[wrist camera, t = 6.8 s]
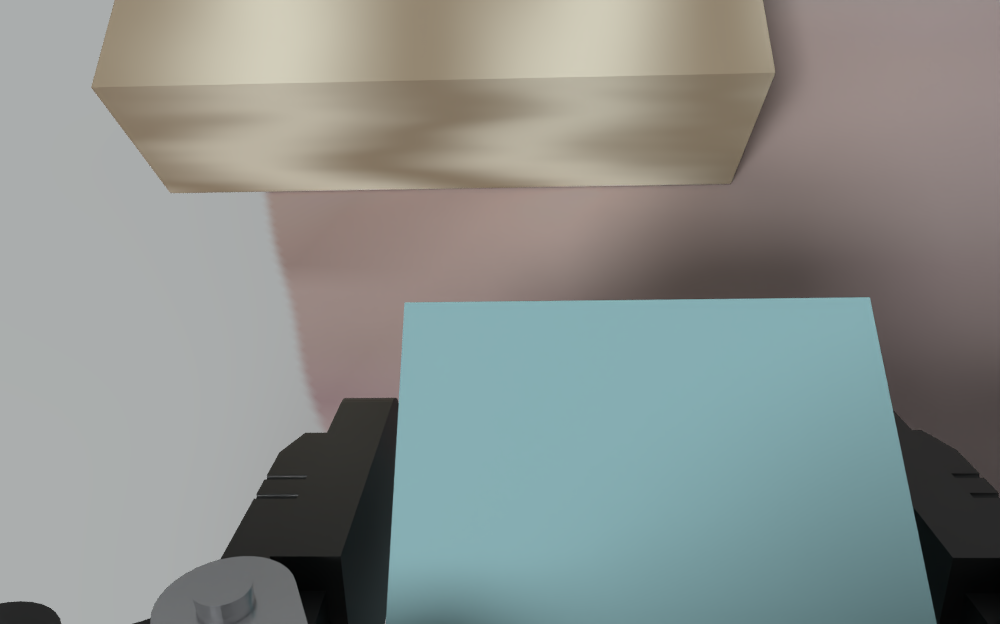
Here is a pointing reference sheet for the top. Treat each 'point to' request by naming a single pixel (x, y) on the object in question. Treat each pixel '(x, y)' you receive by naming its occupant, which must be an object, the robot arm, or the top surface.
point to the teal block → (650, 466)
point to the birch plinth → (435, 91)
